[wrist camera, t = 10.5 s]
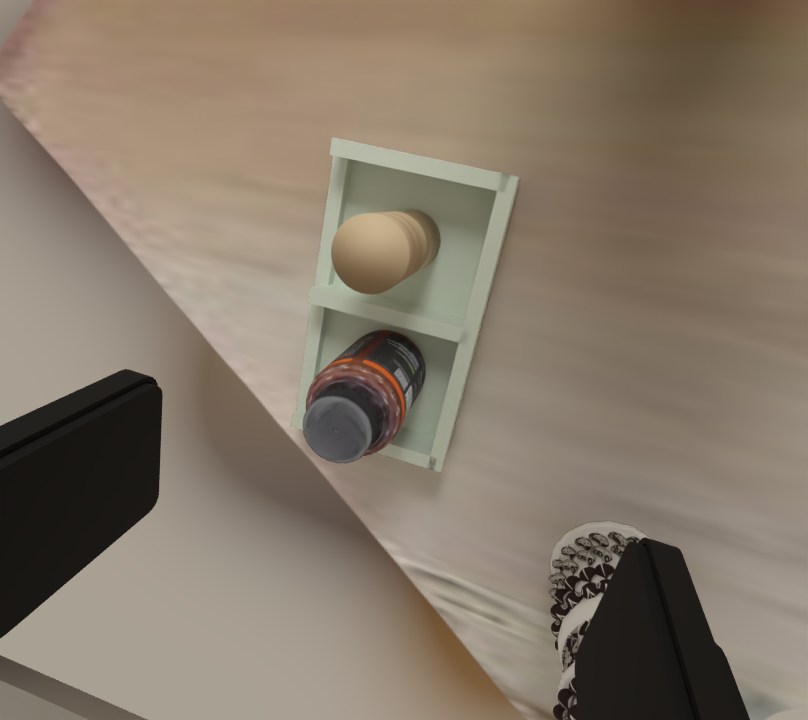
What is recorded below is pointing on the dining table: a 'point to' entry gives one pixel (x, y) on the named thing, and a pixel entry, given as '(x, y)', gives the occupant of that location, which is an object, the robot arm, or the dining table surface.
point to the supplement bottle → (363, 396)
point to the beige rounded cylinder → (383, 249)
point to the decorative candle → (581, 593)
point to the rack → (412, 281)
